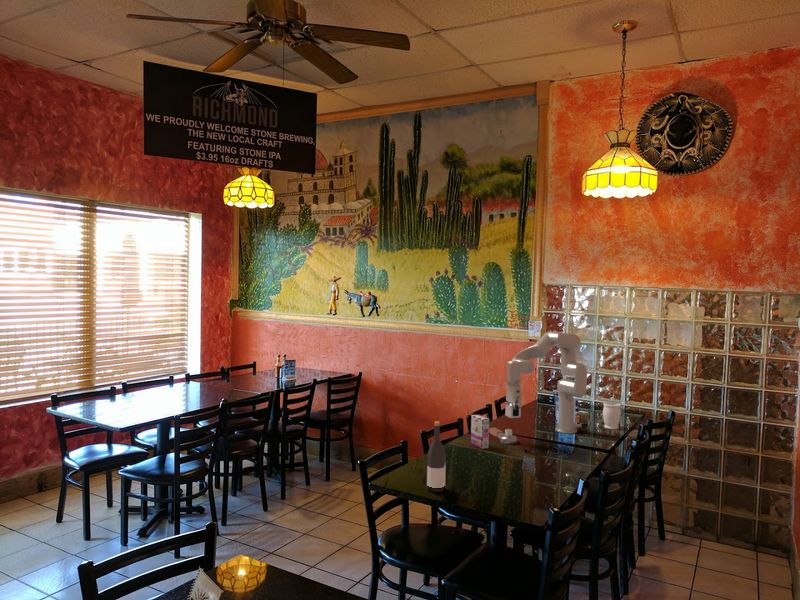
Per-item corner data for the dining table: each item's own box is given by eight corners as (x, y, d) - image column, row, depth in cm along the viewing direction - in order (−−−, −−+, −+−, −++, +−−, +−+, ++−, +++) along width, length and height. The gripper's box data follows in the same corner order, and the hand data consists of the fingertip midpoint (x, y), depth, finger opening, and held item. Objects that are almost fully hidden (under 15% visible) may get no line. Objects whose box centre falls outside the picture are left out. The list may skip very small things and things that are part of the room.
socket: (515, 414, 336) (515, 402, 336) (520, 417, 330) (520, 404, 330) (505, 415, 334) (505, 402, 334) (510, 417, 328) (511, 405, 328)
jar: (621, 430, 361) (622, 406, 360) (604, 429, 363) (604, 405, 362) (618, 425, 371) (619, 402, 371) (601, 425, 373) (601, 401, 372)
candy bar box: (489, 448, 321) (490, 418, 320) (481, 449, 319) (482, 419, 318) (477, 443, 331) (478, 414, 330) (470, 444, 329) (470, 414, 328)
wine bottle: (425, 486, 263) (426, 419, 262) (443, 486, 264) (444, 419, 263) (427, 493, 255) (428, 424, 254) (446, 492, 256) (447, 424, 254)
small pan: (498, 431, 355) (498, 419, 355) (519, 443, 330) (519, 431, 330) (484, 432, 352) (484, 420, 352) (504, 444, 328) (505, 432, 327)
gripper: (527, 385, 324) (526, 417, 325) (512, 379, 341) (511, 410, 341) (515, 385, 322) (514, 418, 323) (500, 380, 338) (499, 411, 339)
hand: (512, 414), depth 332 cm, fingers closed on socket, 6 cm apart
